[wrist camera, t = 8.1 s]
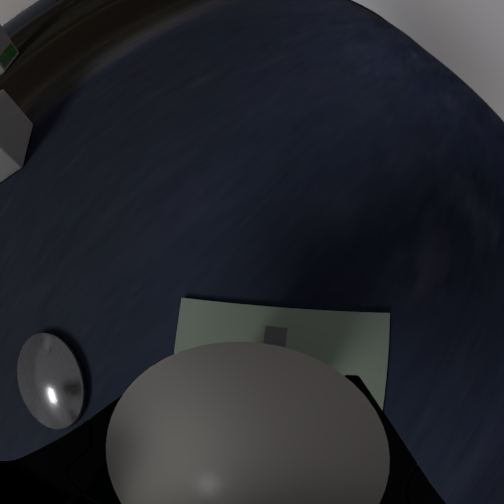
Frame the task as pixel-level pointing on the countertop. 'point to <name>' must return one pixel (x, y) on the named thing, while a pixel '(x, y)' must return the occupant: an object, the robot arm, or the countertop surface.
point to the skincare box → (6, 51)
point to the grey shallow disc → (52, 381)
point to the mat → (296, 335)
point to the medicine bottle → (12, 136)
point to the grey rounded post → (246, 430)
